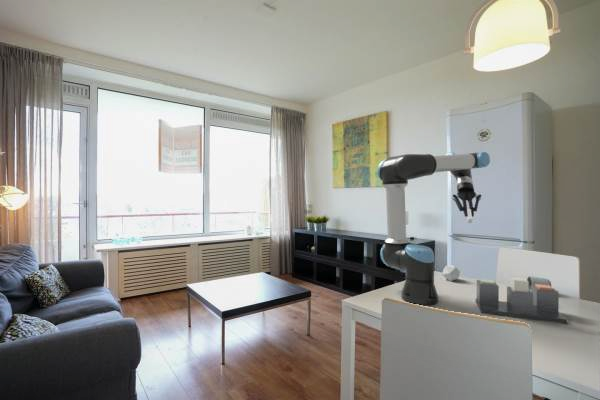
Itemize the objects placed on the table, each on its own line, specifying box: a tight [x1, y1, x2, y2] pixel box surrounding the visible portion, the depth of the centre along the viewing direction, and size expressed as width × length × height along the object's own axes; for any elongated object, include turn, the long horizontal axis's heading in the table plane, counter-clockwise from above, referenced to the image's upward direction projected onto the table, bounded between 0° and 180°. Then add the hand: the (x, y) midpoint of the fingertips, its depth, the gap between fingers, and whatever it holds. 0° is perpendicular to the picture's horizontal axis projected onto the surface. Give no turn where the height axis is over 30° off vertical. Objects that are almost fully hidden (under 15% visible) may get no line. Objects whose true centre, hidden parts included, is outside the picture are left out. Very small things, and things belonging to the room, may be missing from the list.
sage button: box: [479, 278, 496, 285], centre depth 121 cm, size 4×4×8 cm
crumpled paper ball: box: [442, 264, 461, 282], centre depth 160 cm, size 8×9×10 cm
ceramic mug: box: [526, 276, 552, 290], centre depth 140 cm, size 10×8×7 cm
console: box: [475, 279, 568, 325], centre depth 115 cm, size 26×13×10 cm, turn 68°
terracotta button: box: [535, 284, 555, 291], centre depth 114 cm, size 4×4×8 cm
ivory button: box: [510, 276, 529, 292], centre depth 112 cm, size 4×4×8 cm
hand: (470, 220), depth 137 cm, fingers closed
